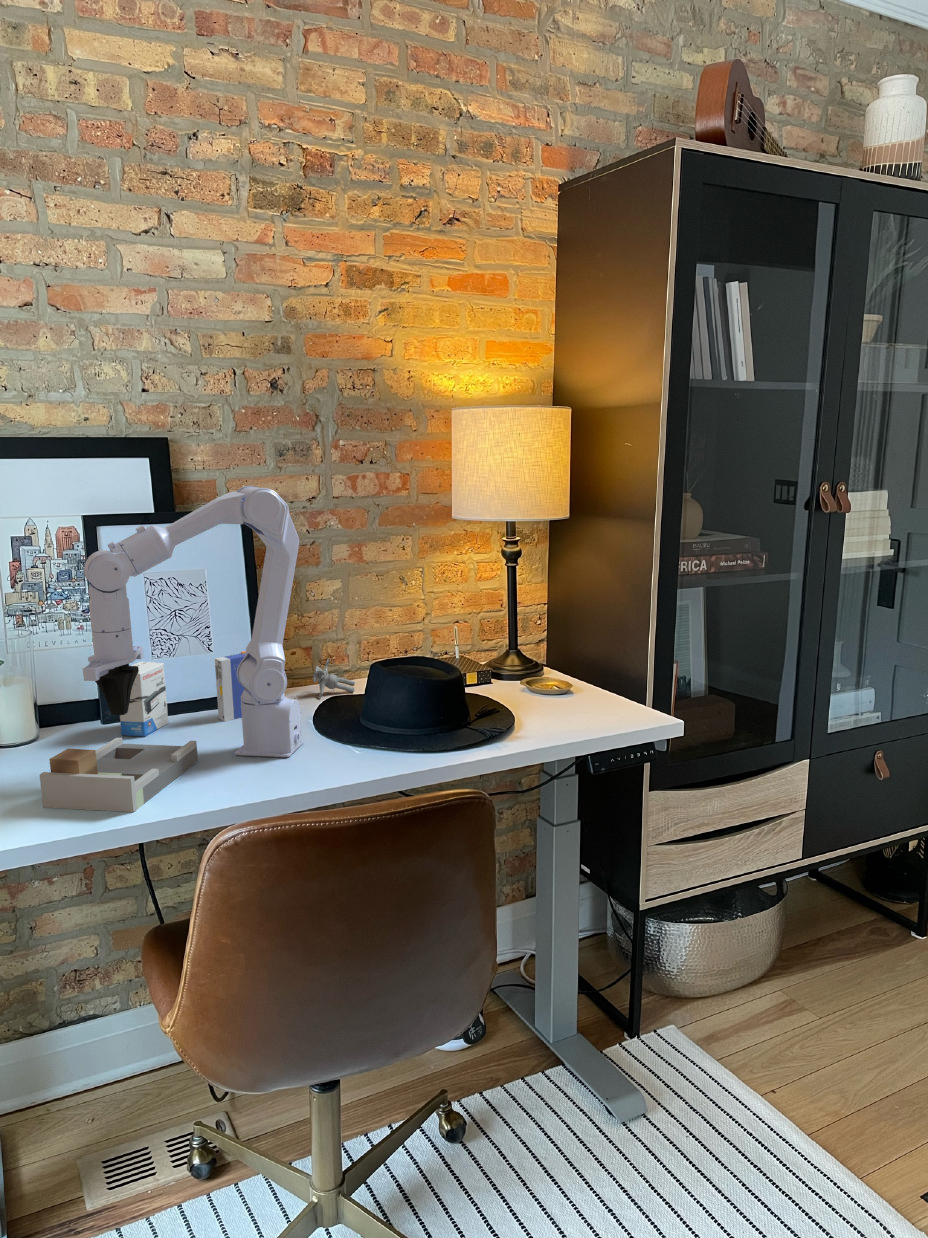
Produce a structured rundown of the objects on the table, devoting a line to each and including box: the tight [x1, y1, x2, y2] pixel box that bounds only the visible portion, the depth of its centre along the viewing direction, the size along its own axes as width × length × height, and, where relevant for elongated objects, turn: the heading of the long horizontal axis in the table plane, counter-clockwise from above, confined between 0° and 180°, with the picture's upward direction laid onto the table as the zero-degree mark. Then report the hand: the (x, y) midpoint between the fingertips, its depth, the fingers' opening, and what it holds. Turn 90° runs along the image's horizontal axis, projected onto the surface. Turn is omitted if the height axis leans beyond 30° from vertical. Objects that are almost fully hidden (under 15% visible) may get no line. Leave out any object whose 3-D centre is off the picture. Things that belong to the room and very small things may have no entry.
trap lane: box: [38, 737, 199, 813], centre depth 142 cm, size 14×21×5 cm, turn 171°
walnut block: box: [49, 748, 98, 775], centre depth 135 cm, size 4×4×4 cm
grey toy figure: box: [312, 658, 356, 700], centre depth 190 cm, size 10×6×9 cm
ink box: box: [119, 661, 169, 737], centre depth 167 cm, size 8×5×12 cm, turn 168°
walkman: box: [214, 650, 246, 722], centre depth 175 cm, size 8×3×12 cm, turn 133°
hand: (119, 713), depth 145 cm, fingers closed
